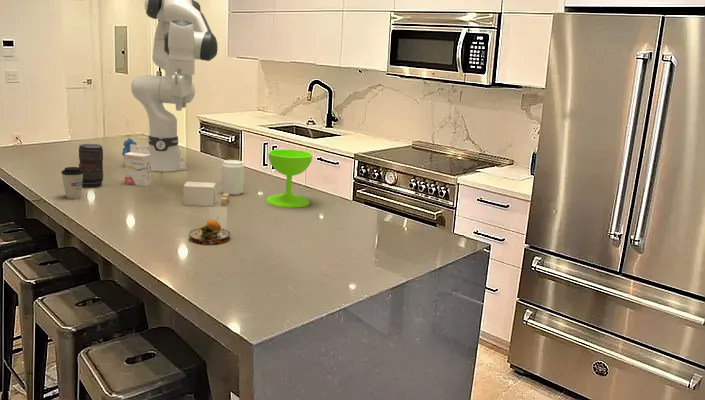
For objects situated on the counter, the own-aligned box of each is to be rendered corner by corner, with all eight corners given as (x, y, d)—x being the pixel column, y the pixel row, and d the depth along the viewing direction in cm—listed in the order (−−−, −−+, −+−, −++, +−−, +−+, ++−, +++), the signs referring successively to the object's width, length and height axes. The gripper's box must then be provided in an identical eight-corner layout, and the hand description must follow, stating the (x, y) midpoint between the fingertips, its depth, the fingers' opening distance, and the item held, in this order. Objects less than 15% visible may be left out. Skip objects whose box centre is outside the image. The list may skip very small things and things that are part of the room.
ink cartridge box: (124, 184, 226) (123, 145, 222) (130, 181, 231) (129, 143, 227) (145, 186, 225) (145, 147, 222) (151, 183, 230) (151, 145, 226)
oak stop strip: (223, 200, 215) (223, 193, 214) (228, 200, 215) (228, 193, 215) (220, 205, 207) (221, 199, 207) (226, 206, 208) (226, 199, 207)
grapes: (115, 165, 256) (114, 137, 253) (130, 163, 261) (129, 136, 258) (129, 170, 249) (128, 141, 246) (144, 168, 254) (143, 140, 251)
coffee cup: (57, 197, 202) (56, 168, 200) (75, 193, 209) (74, 165, 206) (71, 200, 199) (70, 171, 197) (89, 197, 205) (88, 168, 203)
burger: (213, 230, 182) (214, 206, 180) (238, 240, 175) (239, 216, 173) (179, 238, 173) (180, 213, 171) (205, 249, 166) (205, 223, 164)
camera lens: (87, 189, 215) (86, 148, 211) (75, 184, 220) (74, 144, 216) (108, 186, 221) (107, 146, 218) (96, 182, 226) (95, 142, 222)
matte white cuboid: (186, 199, 212) (186, 181, 210) (215, 200, 213) (215, 182, 211) (183, 204, 205) (183, 186, 204) (213, 206, 207) (213, 187, 205)
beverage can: (238, 196, 221) (239, 164, 218) (217, 193, 223) (218, 162, 220) (246, 191, 229) (247, 161, 226) (226, 189, 230) (227, 158, 227)
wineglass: (283, 193, 230) (286, 147, 226) (318, 202, 223) (321, 154, 218) (257, 201, 217) (258, 152, 213) (292, 210, 209) (295, 159, 205)
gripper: (185, 71, 197) (185, 113, 200) (194, 68, 217) (194, 106, 220) (166, 69, 196) (166, 111, 200) (177, 67, 216) (176, 105, 219)
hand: (181, 109), depth 210 cm, fingers open, 8 cm apart
